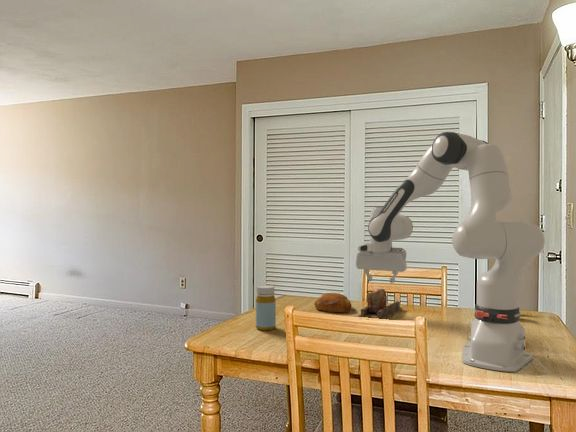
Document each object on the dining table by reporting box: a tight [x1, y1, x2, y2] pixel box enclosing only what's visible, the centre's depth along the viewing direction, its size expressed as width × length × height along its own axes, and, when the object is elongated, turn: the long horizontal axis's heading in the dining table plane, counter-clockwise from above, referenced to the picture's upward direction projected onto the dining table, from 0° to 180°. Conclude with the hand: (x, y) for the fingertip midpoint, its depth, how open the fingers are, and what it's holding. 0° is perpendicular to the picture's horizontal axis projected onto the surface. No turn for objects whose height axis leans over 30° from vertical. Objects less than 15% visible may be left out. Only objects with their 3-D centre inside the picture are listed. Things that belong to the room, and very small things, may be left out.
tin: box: [367, 288, 388, 313], centre depth 188 cm, size 15×3×8 cm, turn 147°
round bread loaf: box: [314, 292, 353, 313], centre depth 196 cm, size 14×16×8 cm
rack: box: [357, 300, 403, 320], centre depth 187 cm, size 22×10×4 cm, turn 148°
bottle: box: [255, 284, 277, 332], centre depth 166 cm, size 7×7×15 cm
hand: (380, 281), depth 186 cm, fingers open, 8 cm apart
